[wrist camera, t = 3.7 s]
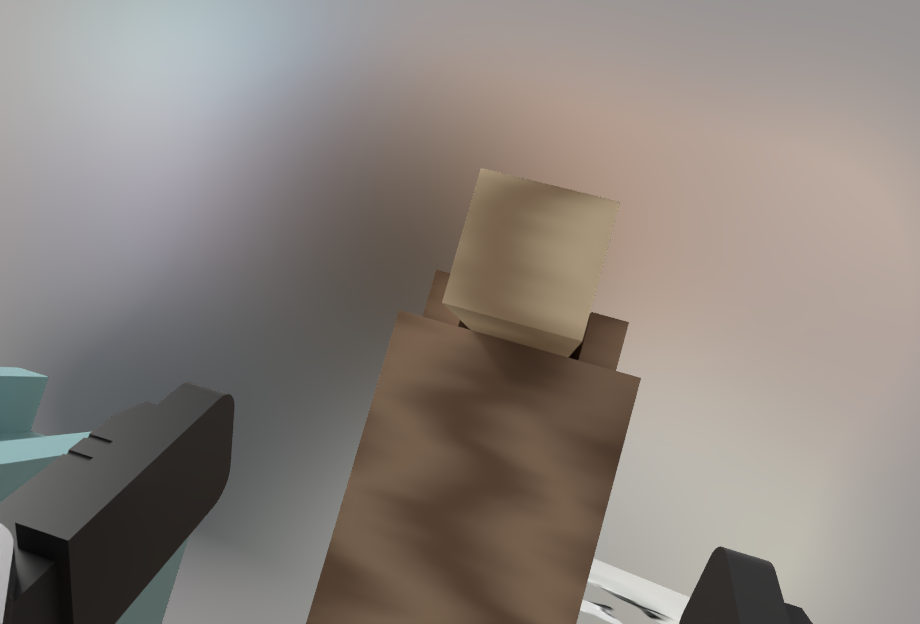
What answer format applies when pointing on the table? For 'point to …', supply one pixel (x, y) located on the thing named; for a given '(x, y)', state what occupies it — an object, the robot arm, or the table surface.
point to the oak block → (530, 261)
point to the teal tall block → (27, 453)
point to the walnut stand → (478, 477)
